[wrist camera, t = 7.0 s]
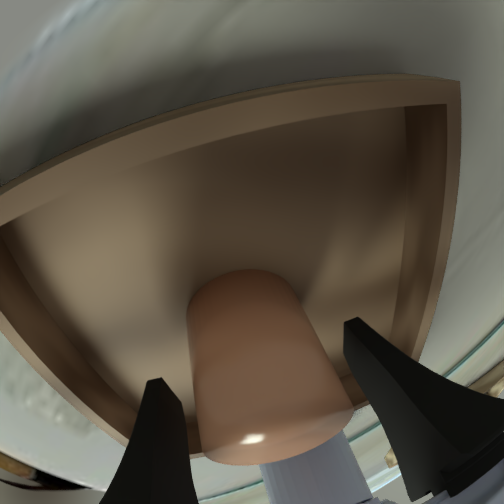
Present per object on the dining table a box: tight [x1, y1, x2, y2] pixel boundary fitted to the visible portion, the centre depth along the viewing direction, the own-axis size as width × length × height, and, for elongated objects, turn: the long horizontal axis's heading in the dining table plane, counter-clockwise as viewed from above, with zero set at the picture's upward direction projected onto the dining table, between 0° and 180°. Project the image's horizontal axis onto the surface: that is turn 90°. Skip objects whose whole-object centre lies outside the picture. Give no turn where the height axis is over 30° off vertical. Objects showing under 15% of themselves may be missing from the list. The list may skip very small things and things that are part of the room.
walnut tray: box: [0, 74, 461, 459], centre depth 13 cm, size 18×18×3 cm
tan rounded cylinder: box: [186, 269, 354, 465], centre depth 11 cm, size 5×5×6 cm
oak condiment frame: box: [384, 360, 504, 469], centre depth 37 cm, size 17×27×2 cm, turn 102°
